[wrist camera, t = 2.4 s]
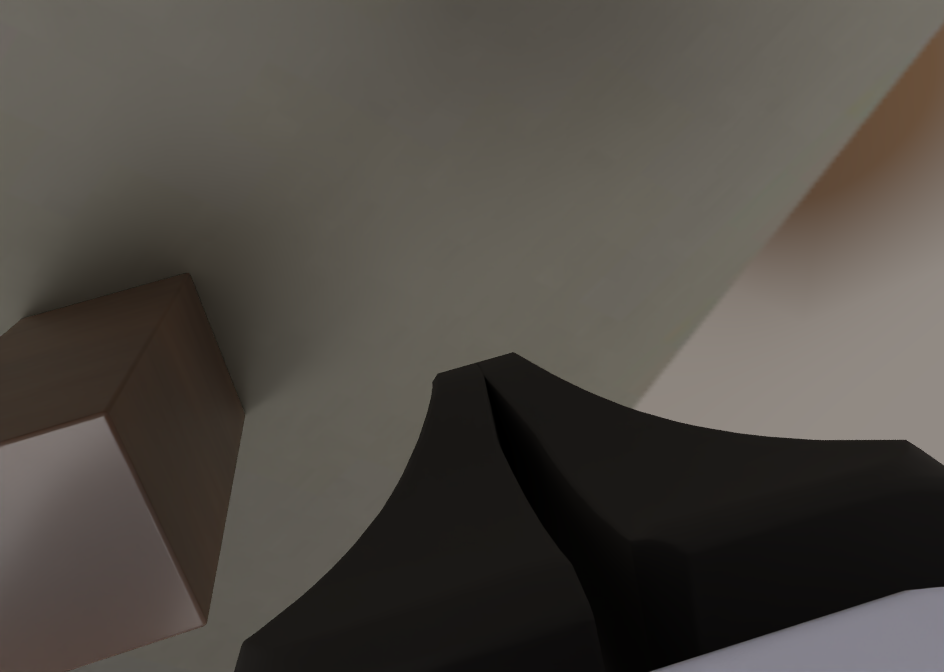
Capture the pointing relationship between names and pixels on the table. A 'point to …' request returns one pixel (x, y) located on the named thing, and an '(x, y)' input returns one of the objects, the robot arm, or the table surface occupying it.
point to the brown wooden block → (111, 475)
